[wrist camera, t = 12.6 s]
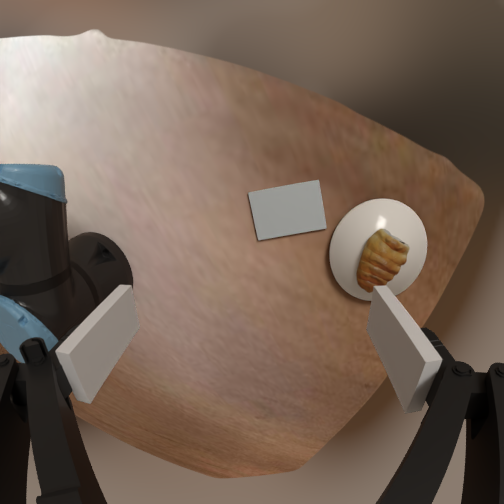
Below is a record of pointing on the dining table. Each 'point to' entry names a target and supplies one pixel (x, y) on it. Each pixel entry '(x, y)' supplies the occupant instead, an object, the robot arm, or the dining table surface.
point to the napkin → (287, 210)
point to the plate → (362, 228)
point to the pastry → (380, 260)
